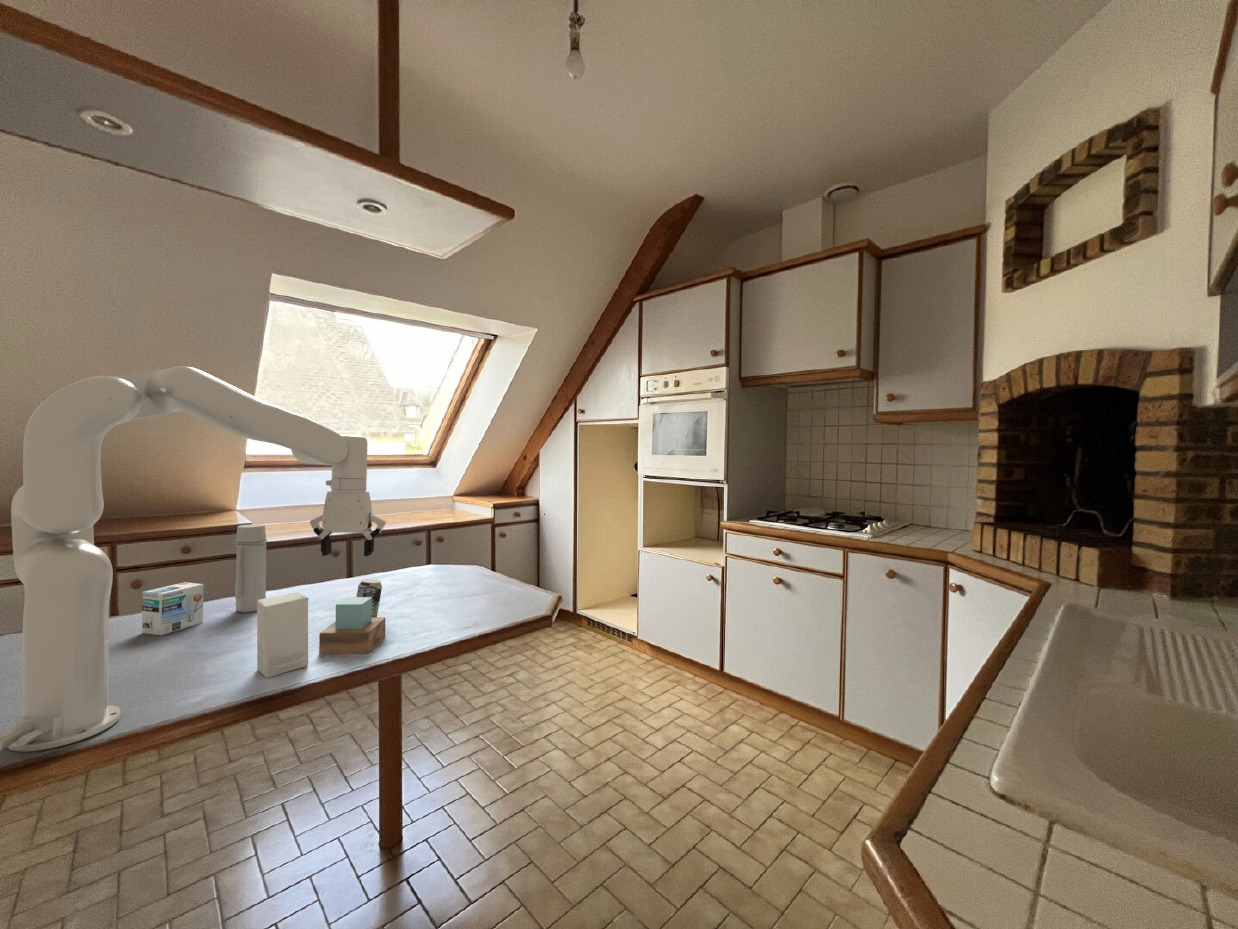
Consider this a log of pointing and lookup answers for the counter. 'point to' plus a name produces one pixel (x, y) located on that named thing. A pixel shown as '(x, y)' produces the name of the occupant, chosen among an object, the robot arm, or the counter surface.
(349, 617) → the teal cube
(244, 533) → the water bottle
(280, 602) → the skincare box
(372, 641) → the walnut block
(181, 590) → the light bulb box
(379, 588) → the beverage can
